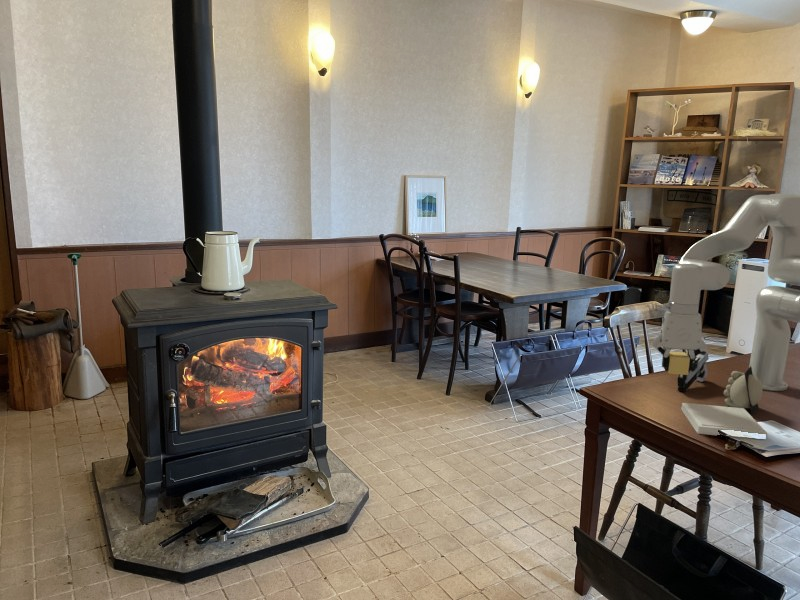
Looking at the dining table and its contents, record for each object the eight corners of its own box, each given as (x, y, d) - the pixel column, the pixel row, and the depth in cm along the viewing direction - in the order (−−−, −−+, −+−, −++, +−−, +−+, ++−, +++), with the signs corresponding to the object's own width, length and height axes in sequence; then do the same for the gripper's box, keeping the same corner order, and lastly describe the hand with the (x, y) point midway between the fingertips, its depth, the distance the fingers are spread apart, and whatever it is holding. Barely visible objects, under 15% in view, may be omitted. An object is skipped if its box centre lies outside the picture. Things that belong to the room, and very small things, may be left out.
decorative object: (723, 417, 169) (730, 407, 176) (763, 417, 163) (769, 407, 170) (715, 374, 169) (723, 366, 176) (755, 373, 162) (761, 365, 169)
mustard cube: (664, 367, 174) (666, 351, 173) (683, 368, 173) (685, 352, 172) (669, 373, 169) (670, 356, 168) (687, 374, 168) (689, 358, 167)
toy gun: (676, 402, 185) (676, 373, 180) (700, 375, 195) (701, 347, 190) (684, 405, 183) (684, 375, 179) (708, 377, 193) (709, 348, 189)
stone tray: (681, 409, 168) (682, 402, 168) (742, 415, 166) (743, 407, 165) (697, 433, 153) (698, 425, 153) (765, 440, 150) (767, 432, 150)
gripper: (653, 310, 165) (647, 372, 169) (720, 313, 161) (712, 376, 166) (648, 303, 172) (642, 363, 176) (711, 306, 169) (704, 367, 173)
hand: (676, 369), depth 171 cm, fingers closed on mustard cube, 5 cm apart
